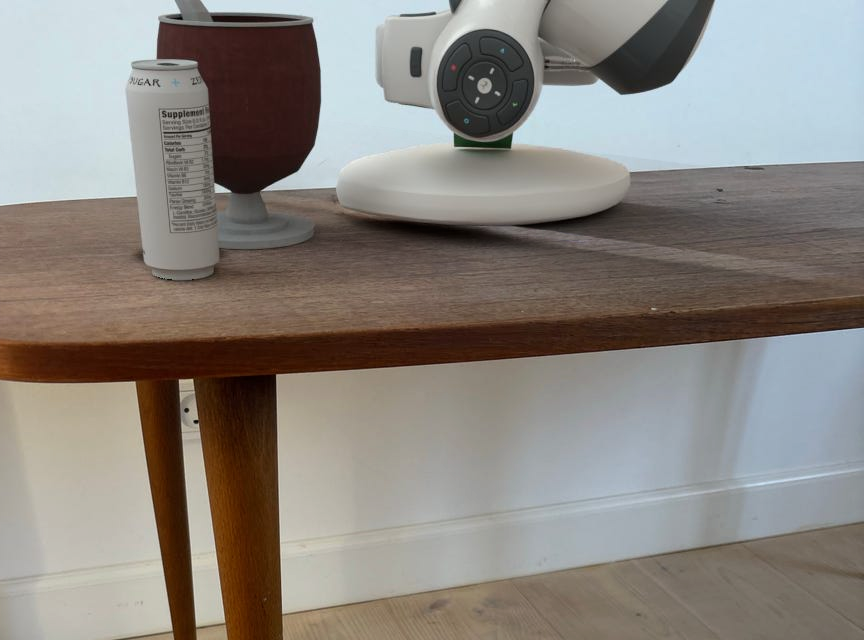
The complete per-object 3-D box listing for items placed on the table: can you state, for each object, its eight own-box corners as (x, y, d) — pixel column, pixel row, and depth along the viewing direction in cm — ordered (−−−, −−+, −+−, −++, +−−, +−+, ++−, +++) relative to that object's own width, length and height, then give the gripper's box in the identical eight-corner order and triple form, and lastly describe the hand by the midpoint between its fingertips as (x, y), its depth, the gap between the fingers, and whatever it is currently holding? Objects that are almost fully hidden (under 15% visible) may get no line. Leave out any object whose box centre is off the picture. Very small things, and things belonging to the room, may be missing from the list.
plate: (285, 171, 96) (402, 133, 117) (293, 245, 100) (406, 196, 120) (584, 164, 85) (657, 123, 106) (582, 248, 89) (653, 192, 109)
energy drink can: (192, 258, 89) (175, 56, 81) (235, 273, 85) (222, 63, 77) (131, 270, 86) (106, 61, 77) (172, 286, 82) (151, 68, 74)
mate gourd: (352, 229, 99) (352, -23, 87) (257, 260, 89) (243, -19, 78) (227, 206, 106) (212, -29, 94) (126, 232, 96) (96, -27, 85)
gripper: (618, 21, 85) (604, 11, 96) (366, 15, 86) (382, 6, 98) (608, 108, 88) (596, 88, 100) (366, 101, 90) (381, 82, 101)
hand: (488, 47), depth 99 cm, fingers closed on dish wand, 3 cm apart
